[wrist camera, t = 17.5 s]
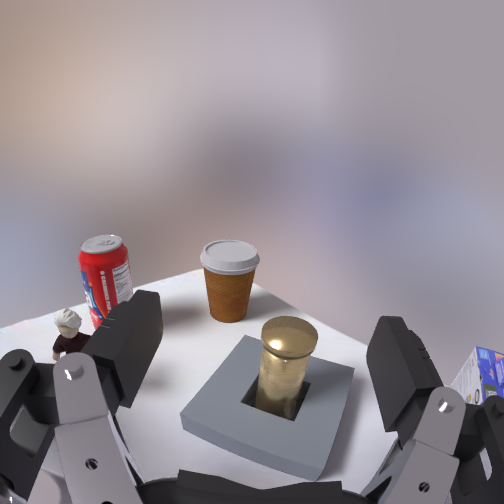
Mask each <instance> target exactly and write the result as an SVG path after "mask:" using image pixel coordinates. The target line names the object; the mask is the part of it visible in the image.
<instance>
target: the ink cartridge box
mask: <svg viewBox="0 0 504 504" xmlns="http://www.w3.org/2000/svg"><path fill="white" fill-rule="evenodd" d="M449 388H452V389H454V390H456V391H457V392H458V393H459V394H460V395H461V396H462V397H463V399H464V401H465V403H469V404H476V405H482V403H483V402H484V401H485V400H486V398H487V397H489V396H491V395H498V396H501V397H503V398H504V354H501V353H499V352H496V351H492V350H489V349H485V348H481V347H477V346H476V347H475V348H474V350H473V351H472V353H471V355H470V356H469V358H468V360H467V361H466V363H465V364H464V366H463V368H462V370H461V371H460V372H459V374H458V375H457V377H456V378H455V380H454V381H453V383H452V384H451V386H450V387H449Z"/></svg>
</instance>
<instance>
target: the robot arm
mask: <svg viewBox="0 0 504 504" xmlns="http://www.w3.org/2000/svg"><path fill="white" fill-rule="evenodd" d="M162 335H163V322H162V313H161V304H160V296H159V293H157V292H151V291H145V290H137V291H136V292H135V294H134V295H133V296H132V298H131V299H130V300H129V302H128V301H122V302H121V303H119V304H118V305H116V306H114V307H113V308H112V309H111V311H110V312H109V313H108V314H107V316H106V319H105V318H104V320H103V321H102V322H101V324H100V326H98V328H97V329H96V331H95V332H94V333H93V335H92V336H91V337H90V339H89V340H88V342H87V343H86V344H85V346H84V347H83V349H82V350H81V351H80V353H79V352H75V353H70V354H67V355H65V356H63V357H61V358H60V359H59V360H58V361H57V362H56V364H46V363H35V361H34V359H33V357H32V355H31V354H30V352H28V351H26V350H23V349H16V350H12V351H10V352H8V353H7V354H5V355H4V356H3V357H2V359H1V360H0V504H28V503H27V501H28V498H29V496H30V493H31V490H32V488H33V485H34V483H35V480H36V478H37V475H38V472H39V470H40V468H41V465H42V463H43V461H44V458H45V456H46V454H47V451H48V449H49V447H50V445H51V442H52V440H53V438H54V436H55V437H56V442H57V447H58V451H59V456H60V460H61V464H62V468H63V472H64V476H65V480H66V483H67V487H68V490H69V493H70V496H71V499H72V502H73V504H444V503H445V501H446V499H447V496H448V494H449V491H450V492H451V497H452V503H453V504H504V398H503V397H501V396H498V395H491V396H489V397H487V398H486V400H485V401H484V402H483V403H482V405H476V404H469V403H465V401H464V399H463V397H462V396H461V395H460V394H459V393H458V392H457V391H456V390H454V389H452V388H449V387H444V385H443V383H442V381H441V379H440V376H439V374H438V372H437V370H436V368H435V366H434V364H433V362H432V360H431V359H430V356H429V354H428V352H427V351H426V348H425V347H424V344H423V343H422V341H421V339H420V338H419V337H418V336H417V335H416V334H415V333H414V332H413V331H412V330H408V328H407V326H406V324H405V322H404V320H403V319H402V318H401V317H396V316H382V317H380V319H379V321H378V323H377V326H376V329H375V331H374V334H373V336H372V339H371V341H370V343H369V346H368V349H367V355H366V360H367V365H368V368H369V372H370V375H371V379H372V382H373V386H374V390H375V393H376V397H377V401H378V405H379V408H380V412H381V416H382V420H383V424H384V429H385V432H393V431H397V433H398V437H397V438H396V440H395V441H394V443H393V445H392V447H391V448H390V450H389V452H388V454H387V456H386V457H385V459H384V461H383V463H382V464H381V466H380V468H379V469H378V471H377V473H376V474H375V476H374V477H373V479H372V480H371V482H370V483H369V484H368V485H367V486H366V487H365V489H364V490H363V491H362V492H361V493H360V494H357V493H354V492H351V491H347V490H342V483H341V481H330V482H302V483H298V484H293V485H288V486H283V487H277V488H271V489H264V490H260V489H256V488H252V487H249V486H246V485H243V484H240V483H237V482H234V481H231V480H228V479H225V478H222V477H220V476H213V475H207V474H201V473H196V472H190V471H185V470H181V469H179V473H178V477H177V478H162V479H157V480H152V481H149V482H146V483H145V481H144V479H143V477H142V475H141V473H140V471H139V469H138V467H137V465H136V463H135V461H134V459H133V457H132V454H131V452H130V450H129V447H128V445H127V442H126V440H125V437H124V434H123V432H122V429H121V426H120V424H119V421H118V418H117V415H116V411H117V409H118V407H119V405H120V406H123V407H127V408H131V406H132V403H133V401H134V399H135V397H136V394H137V392H138V390H139V388H140V385H141V383H142V381H143V379H144V377H145V374H146V372H147V370H148V368H149V366H150V364H151V361H152V359H153V357H154V355H155V353H156V351H157V349H158V347H159V344H160V342H161V339H162ZM21 406H22V408H23V409H24V410H23V411H22V413H21V415H20V417H19V418H18V420H17V422H16V424H15V426H14V428H13V429H12V431H11V433H10V426H11V424H12V422H13V420H14V418H15V417H16V415H17V413H18V411H19V409H20V408H21ZM485 447H486V450H487V453H488V456H489V459H490V463H491V466H492V474H491V477H490V478H489V480H488V481H487V479H486V475H485V471H484V468H483V464H482V461H481V457H480V454H479V453H480V452H481V451H482V450H483V449H484V448H485Z"/></svg>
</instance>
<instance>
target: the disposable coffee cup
mask: <svg viewBox="0 0 504 504" xmlns="http://www.w3.org/2000/svg"><path fill="white" fill-rule="evenodd" d="M200 260H201V262H202V265H203V267H204V275H205V282H206V288H207V295H208V301H209V307H210V314H211V316H212V317H213V318H214V319H216V320H218V321H221V322H225V323H231V322H237V321H240V320H241V319H243V318H244V317H245V315H246V310H247V306H248V301H249V297H250V292H251V287H252V283H253V278H254V274H255V269H256V267H257V265H258V263H259V261H260V258H259V256H258V253H257V249H256V248H255V247H254V246H252V245H251V244H249V243H246V242H243V241H237V240H219V241H214V242H211V243H209V244H207V245H206V246H204V248H203V252H202V253H201V255H200Z"/></svg>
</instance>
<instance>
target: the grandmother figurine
mask: <svg viewBox="0 0 504 504" xmlns="http://www.w3.org/2000/svg"><path fill="white" fill-rule="evenodd" d="M81 320H82V319H81V318H80V317H79V315H78V314H77V313H75V312H74V311H72V310H70V309H68V308H65V309H62V310H59V311H57V312H56V314H55V316H54V322H55V324H56V326H57V327H58V329H59V332H60V333H61V334H60V335H59V336H58V338H57V339H56V341H55V344H54V346H53V359H54V360H56V361H58V360H59V359H60V353H61V352H65V351H66V355H67V354H70V353H75V352H79V353H80V351H81V350H82V349H83V347H84V346H85V344H86V343H87V342H88V340H89V339H90V337H91V336H90V335H87V334H83V333H81V332H78V330H79V327H80V326H81Z"/></svg>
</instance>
